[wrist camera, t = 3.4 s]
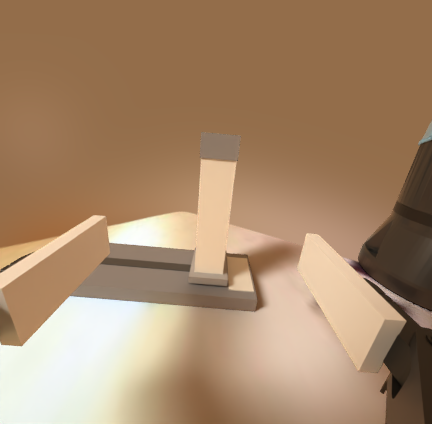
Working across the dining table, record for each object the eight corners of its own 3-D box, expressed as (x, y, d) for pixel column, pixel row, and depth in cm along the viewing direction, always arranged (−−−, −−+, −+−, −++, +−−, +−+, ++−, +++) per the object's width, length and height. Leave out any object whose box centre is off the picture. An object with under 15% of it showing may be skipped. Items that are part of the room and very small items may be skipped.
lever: (225, 256, 26) (240, 136, 21) (226, 286, 21) (246, 136, 16) (194, 253, 26) (201, 133, 21) (188, 282, 21) (195, 131, 16)
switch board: (245, 264, 28) (247, 254, 27) (255, 311, 20) (257, 298, 20) (71, 249, 27) (69, 238, 27) (15, 291, 20) (10, 277, 19)
